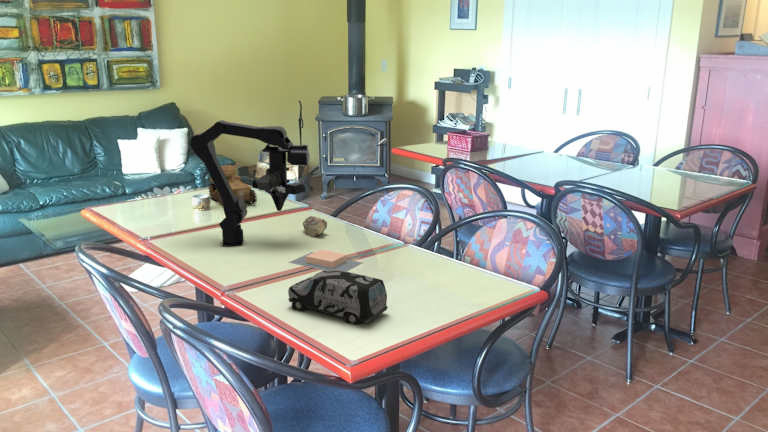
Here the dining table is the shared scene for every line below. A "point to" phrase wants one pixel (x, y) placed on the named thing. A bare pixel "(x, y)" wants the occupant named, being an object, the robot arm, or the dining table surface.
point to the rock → (314, 226)
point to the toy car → (341, 295)
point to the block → (326, 259)
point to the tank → (233, 187)
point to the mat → (342, 267)
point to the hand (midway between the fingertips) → (279, 210)
